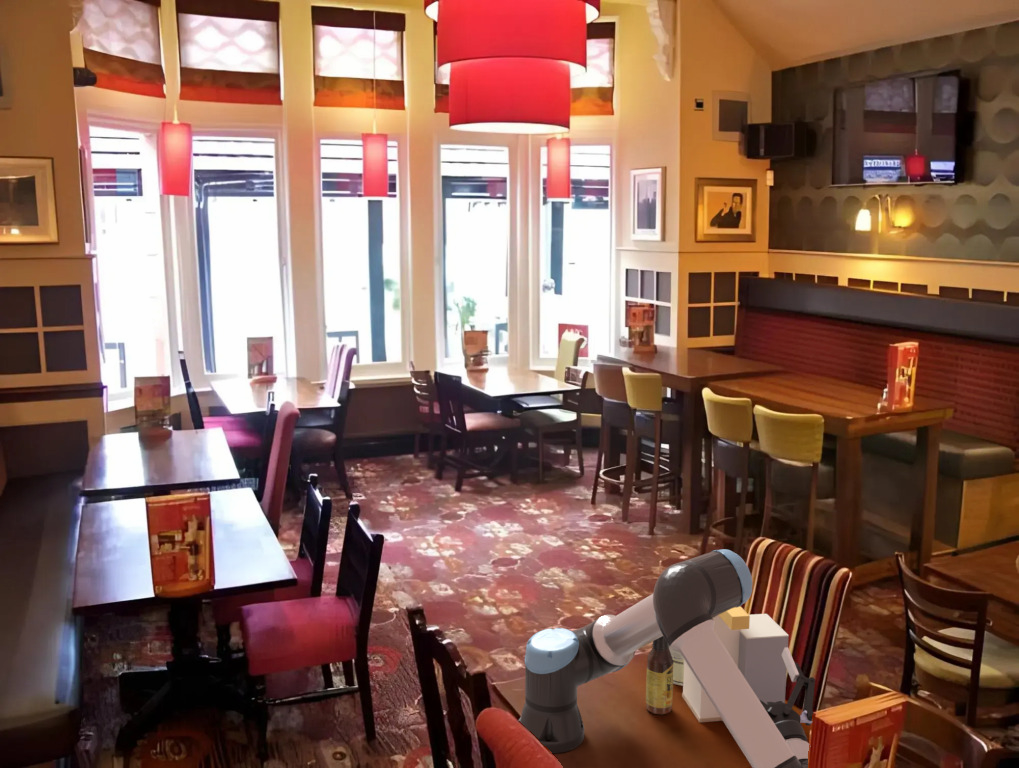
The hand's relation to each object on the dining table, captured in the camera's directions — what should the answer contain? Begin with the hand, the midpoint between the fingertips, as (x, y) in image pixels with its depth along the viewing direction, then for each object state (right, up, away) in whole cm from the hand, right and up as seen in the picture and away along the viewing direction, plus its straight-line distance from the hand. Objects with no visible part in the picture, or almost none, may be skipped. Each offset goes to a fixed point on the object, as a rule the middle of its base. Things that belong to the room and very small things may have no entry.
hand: (754, 652), depth 194 cm
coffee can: (-7, -18, +41) cm, 46 cm away
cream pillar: (-4, -21, +26) cm, 34 cm away
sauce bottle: (-16, -21, +26) cm, 37 cm away
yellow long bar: (-3, +5, +18) cm, 19 cm away
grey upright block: (+6, -21, +24) cm, 32 cm away
